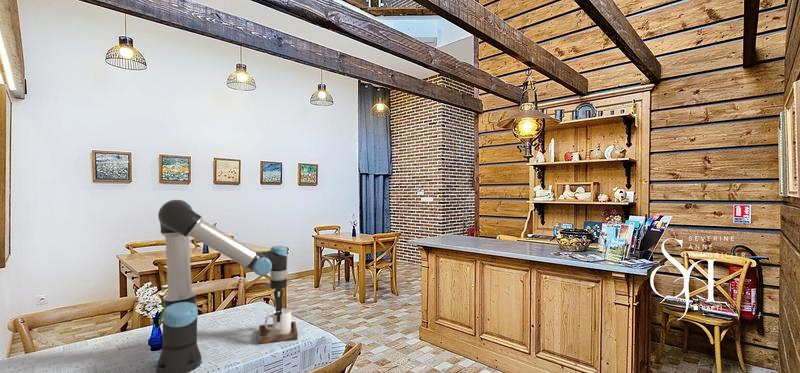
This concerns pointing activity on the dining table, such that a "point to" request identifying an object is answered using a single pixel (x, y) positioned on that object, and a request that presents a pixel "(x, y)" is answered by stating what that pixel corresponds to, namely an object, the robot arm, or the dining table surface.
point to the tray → (269, 337)
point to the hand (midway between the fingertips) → (277, 323)
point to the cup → (285, 322)
